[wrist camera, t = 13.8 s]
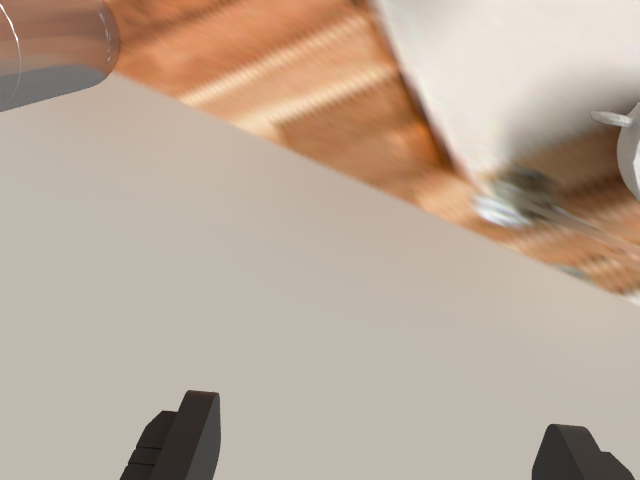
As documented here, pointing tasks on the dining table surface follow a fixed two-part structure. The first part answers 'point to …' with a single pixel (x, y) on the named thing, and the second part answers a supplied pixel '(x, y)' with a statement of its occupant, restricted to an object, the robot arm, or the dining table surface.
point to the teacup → (626, 145)
